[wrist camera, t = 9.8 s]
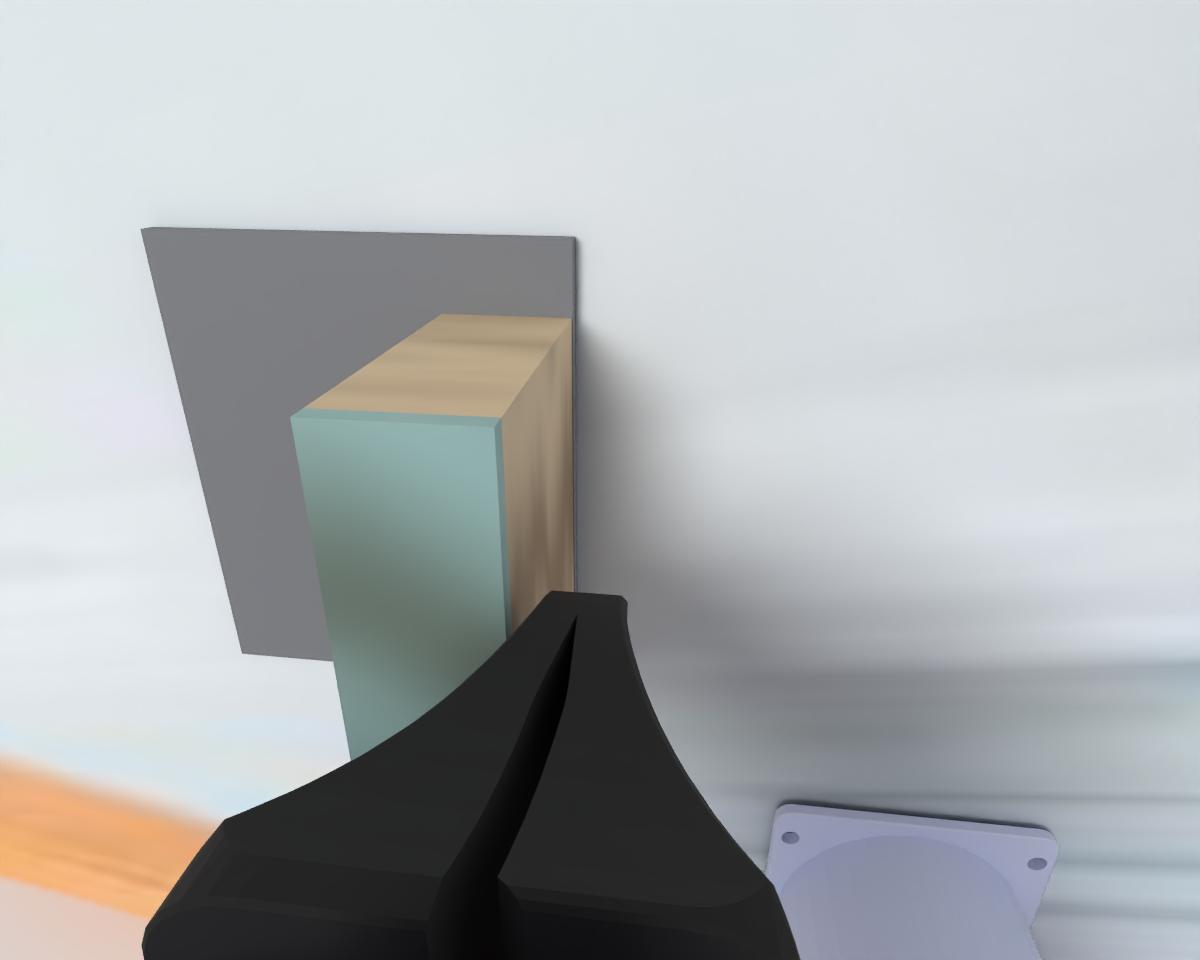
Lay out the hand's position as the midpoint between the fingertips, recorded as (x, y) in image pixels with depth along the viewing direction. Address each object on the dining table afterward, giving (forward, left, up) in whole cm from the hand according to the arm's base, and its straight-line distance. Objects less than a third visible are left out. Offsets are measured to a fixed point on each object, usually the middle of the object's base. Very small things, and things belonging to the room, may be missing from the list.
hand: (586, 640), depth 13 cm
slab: (0, +3, -6) cm, 7 cm away
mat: (0, +6, -6) cm, 9 cm away
